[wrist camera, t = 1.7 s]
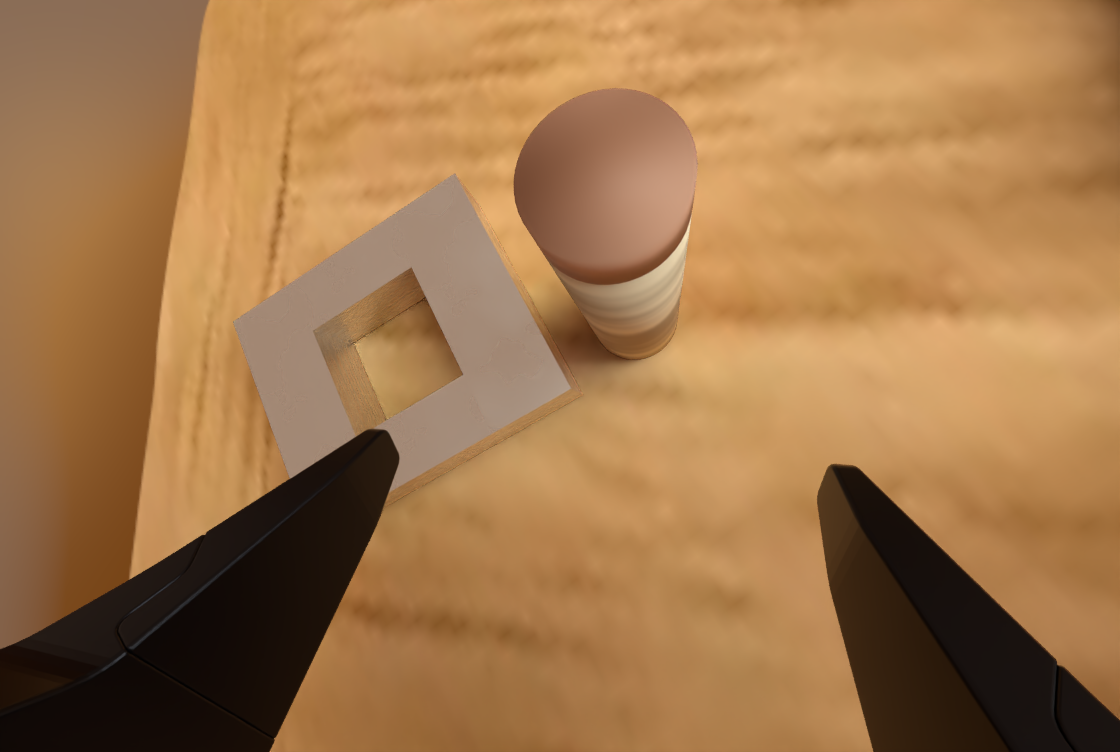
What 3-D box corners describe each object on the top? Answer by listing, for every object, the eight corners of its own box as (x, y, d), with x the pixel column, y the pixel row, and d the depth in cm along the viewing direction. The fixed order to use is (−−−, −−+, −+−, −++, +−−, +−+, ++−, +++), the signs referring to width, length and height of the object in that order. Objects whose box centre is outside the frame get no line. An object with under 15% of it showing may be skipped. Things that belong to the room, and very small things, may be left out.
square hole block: (583, 394, 22) (571, 388, 19) (354, 524, 24) (311, 537, 21) (479, 204, 24) (454, 173, 22) (280, 334, 26) (232, 321, 23)
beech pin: (693, 332, 21) (735, 193, 9) (619, 374, 22) (564, 296, 10) (650, 264, 22) (636, 54, 10) (579, 306, 22) (484, 155, 10)
